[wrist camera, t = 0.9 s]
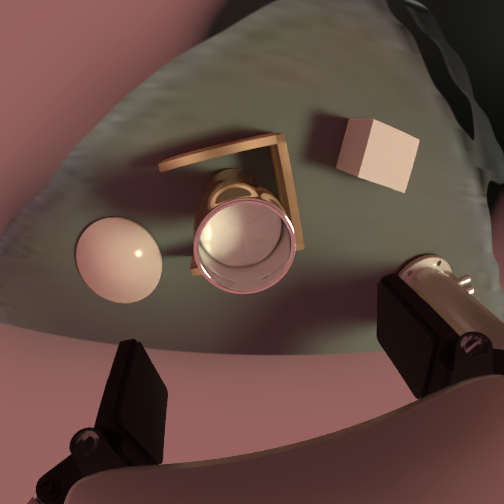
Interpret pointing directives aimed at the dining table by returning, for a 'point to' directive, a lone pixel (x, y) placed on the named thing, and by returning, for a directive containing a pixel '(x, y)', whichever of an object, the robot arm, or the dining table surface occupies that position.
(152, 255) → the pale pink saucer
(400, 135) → the pale pink cube
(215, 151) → the wooden u-shaped bracket
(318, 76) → the dining table surface
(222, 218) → the beer glass
